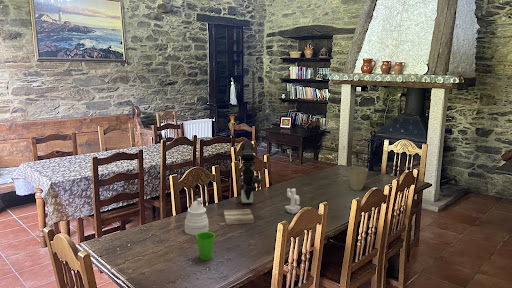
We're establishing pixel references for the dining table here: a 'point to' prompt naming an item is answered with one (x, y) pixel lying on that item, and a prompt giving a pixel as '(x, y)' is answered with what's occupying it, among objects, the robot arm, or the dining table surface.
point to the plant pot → (357, 177)
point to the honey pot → (196, 219)
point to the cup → (205, 244)
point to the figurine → (293, 201)
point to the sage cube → (243, 197)
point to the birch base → (238, 216)
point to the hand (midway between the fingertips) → (247, 198)
